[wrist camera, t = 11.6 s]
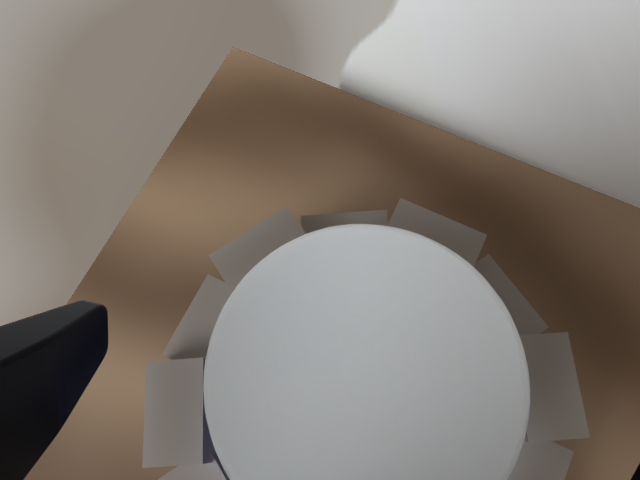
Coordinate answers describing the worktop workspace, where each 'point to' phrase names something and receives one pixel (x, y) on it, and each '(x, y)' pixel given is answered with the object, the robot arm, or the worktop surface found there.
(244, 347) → the pill bottle
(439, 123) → the worktop surface
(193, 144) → the nut base
